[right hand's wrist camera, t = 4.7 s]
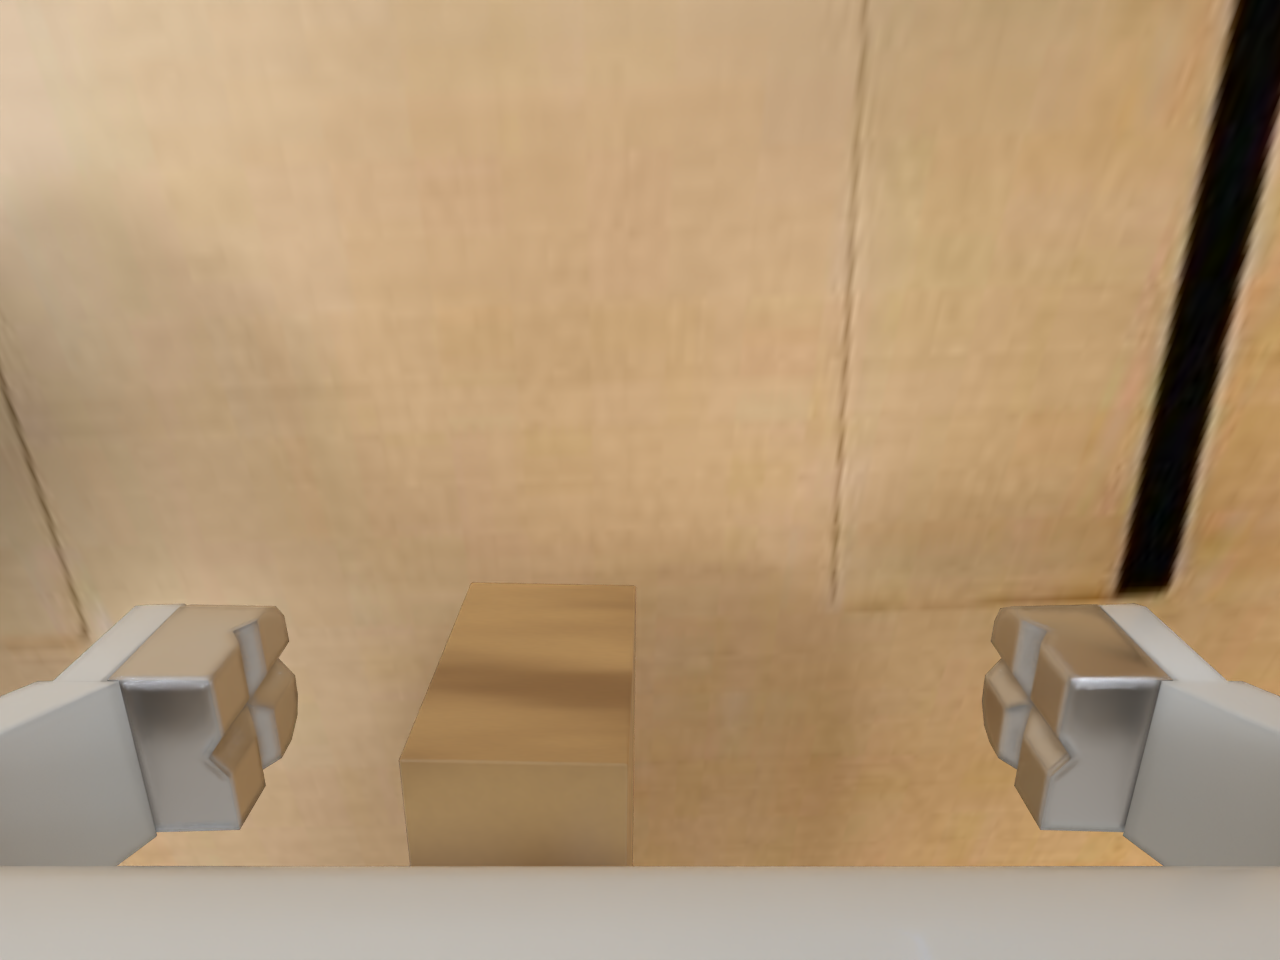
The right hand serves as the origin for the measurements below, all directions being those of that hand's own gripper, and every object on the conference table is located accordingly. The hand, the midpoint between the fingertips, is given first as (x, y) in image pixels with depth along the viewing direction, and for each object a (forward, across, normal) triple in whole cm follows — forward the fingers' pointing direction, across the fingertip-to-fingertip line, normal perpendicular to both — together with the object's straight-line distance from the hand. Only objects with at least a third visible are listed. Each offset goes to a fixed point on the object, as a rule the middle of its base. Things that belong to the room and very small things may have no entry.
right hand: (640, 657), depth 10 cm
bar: (+18, -3, -21) cm, 28 cm away
